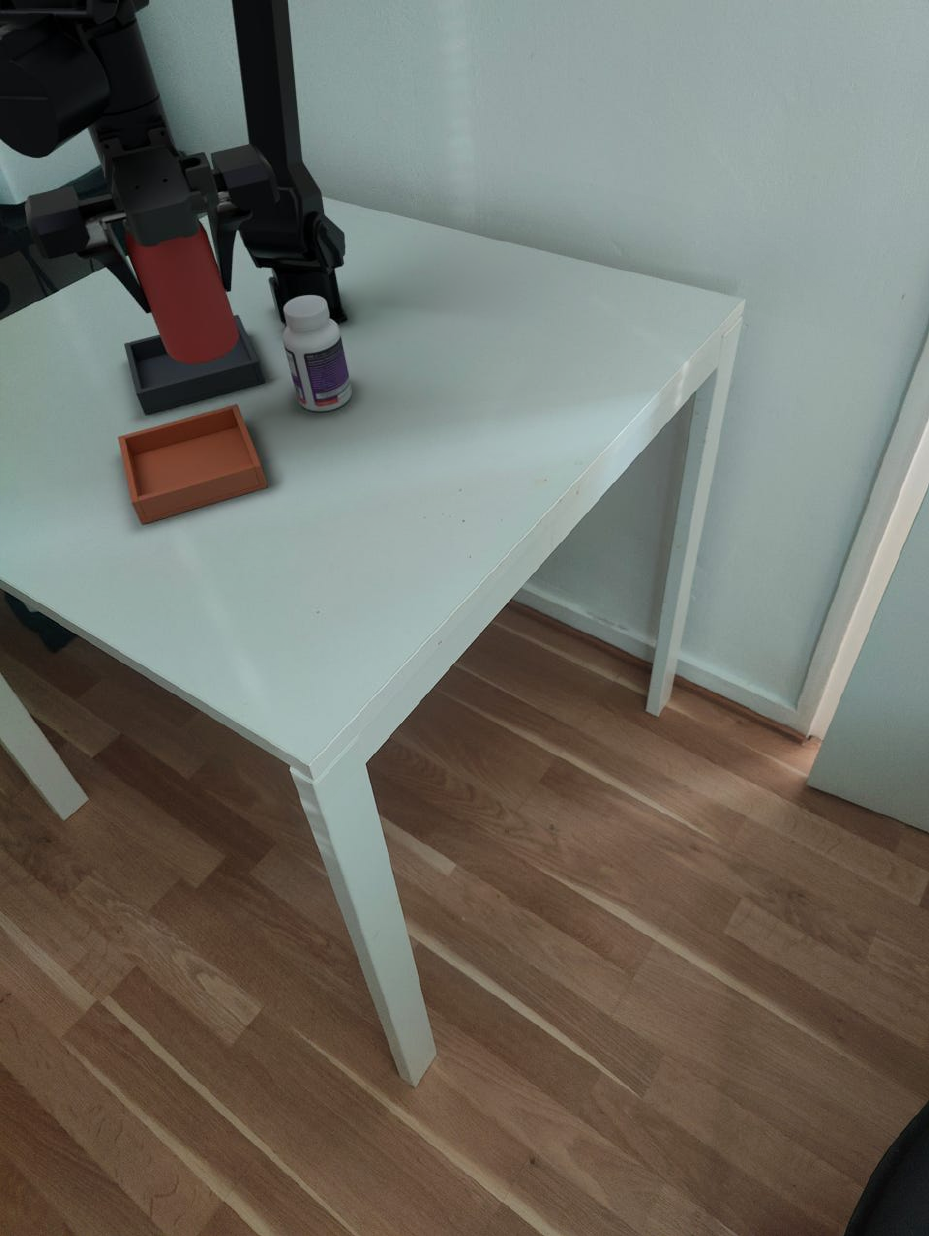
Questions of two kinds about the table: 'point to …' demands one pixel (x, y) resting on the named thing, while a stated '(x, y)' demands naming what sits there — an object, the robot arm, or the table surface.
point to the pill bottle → (315, 354)
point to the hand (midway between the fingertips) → (188, 300)
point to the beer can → (185, 296)
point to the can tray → (189, 373)
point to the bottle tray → (190, 463)
